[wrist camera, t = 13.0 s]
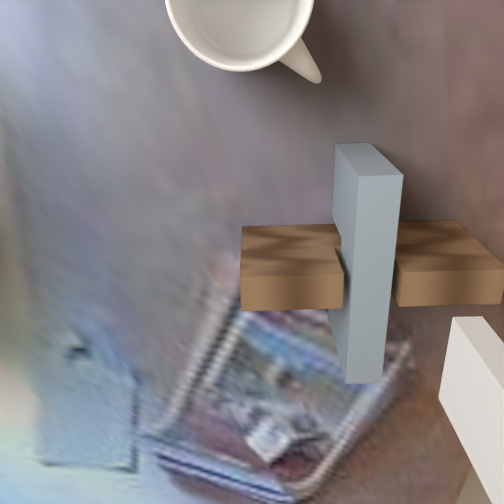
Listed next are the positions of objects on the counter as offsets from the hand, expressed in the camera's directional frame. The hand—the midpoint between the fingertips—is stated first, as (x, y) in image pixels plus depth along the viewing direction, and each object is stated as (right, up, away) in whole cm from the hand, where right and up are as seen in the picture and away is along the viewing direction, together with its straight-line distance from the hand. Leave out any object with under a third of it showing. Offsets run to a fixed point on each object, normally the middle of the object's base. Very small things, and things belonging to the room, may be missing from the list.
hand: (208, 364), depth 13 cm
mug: (+2, +21, +24) cm, 32 cm away
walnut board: (+10, +4, +32) cm, 34 cm away
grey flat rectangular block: (+10, +4, +32) cm, 34 cm away
